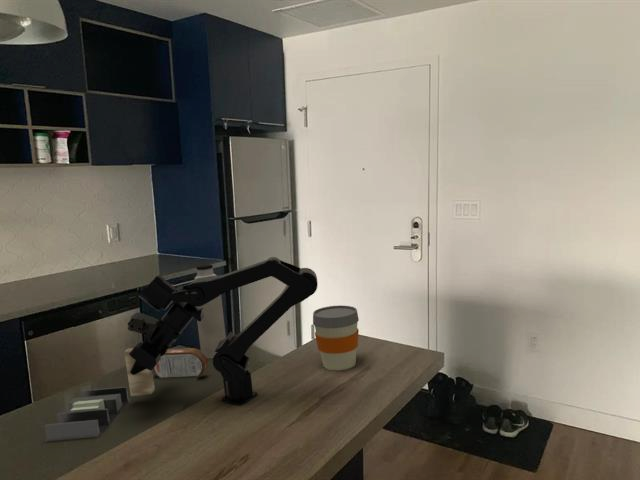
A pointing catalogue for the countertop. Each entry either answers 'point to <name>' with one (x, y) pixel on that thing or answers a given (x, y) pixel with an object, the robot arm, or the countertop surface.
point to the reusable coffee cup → (336, 336)
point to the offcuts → (88, 405)
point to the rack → (88, 415)
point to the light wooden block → (138, 378)
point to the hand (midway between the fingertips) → (134, 371)
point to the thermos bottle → (210, 318)
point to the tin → (181, 363)
